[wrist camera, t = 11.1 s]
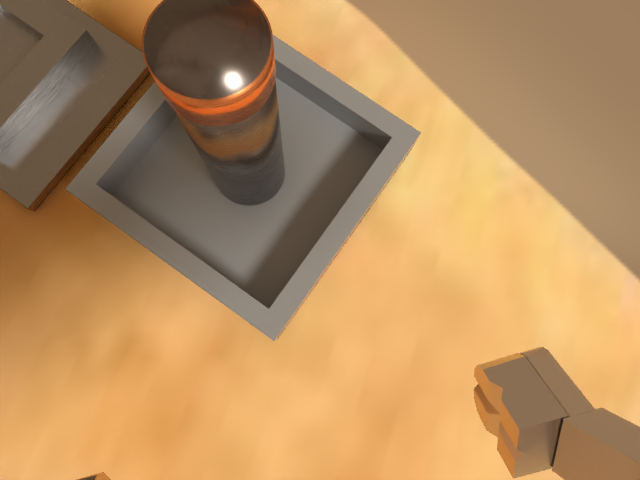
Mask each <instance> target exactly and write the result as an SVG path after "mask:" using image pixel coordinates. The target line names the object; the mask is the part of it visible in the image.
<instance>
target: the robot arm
mask: <svg viewBox="0 0 640 480" xmlns="http://www.w3.org/2000/svg"><path fill="white" fill-rule="evenodd" d="M474 377H475V378H476V380H477V382H478V385H477V386H476V387H475V388H474V399H475V403H476V407H477V411H478V413H479V415H480V418H481V420H482V422H483V424H484V426H485V428H486V430H487V431H489V432H490V433H492V434H493V435H495V436H497V437H498V445H497V450H498V452H499V453H500V455H501V457H502V459H503V461H504V462H505V464H506V466H507V468H508V470H509V472H510V473H511V475H512V477H513V478H517V477H521V476H525V475H528V474H532V473H536V472H539V471H543V470H547V469H551V468H552V471H554V472H555V473H556V474H558V475H559V476H560V477H562V478H563V479H564V480H640V427H639V426H637V425H635V424H633V423H631V422H629V421H627V420H625V419H623V418H621V417H619V416H617V415H615V414H614V413H612V412H610V411H608V410H606V409H604V408H598V409H594V407H593V406H592V405H591V404H590V402H589V401H588V400H587V399H586V397H585V396H584V395H583V393H582V392H581V391H580V390H579V388H578V387H577V386H576V385H575V383H574V382H573V381H572V380H571V378H570V377H569V376H568V375H567V373H566V372H565V371H564V370H563V368H562V367H561V366H560V365H559V363H558V362H557V361H556V360H555V358H554V357H553V356H552V355H551V353H550V352H549V351H548V350H547V349H545V348H543V347H539V348H535V349H532V350H529V351H526V352H522V353H516V354H513V355H510V356H506V357H503V358H500V359H497V360H493V361H490V362H487V363H483V364H480V365H477V366H476V367H475V372H474ZM77 480H111V479H110V478H109V477H108V476H107V475H106V474H105V473H104V472H102V473H98V474H95V475H91V476H88V477H84V478H80V479H77Z"/></svg>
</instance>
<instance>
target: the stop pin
mask: <svg viewBox="0 0 640 480" xmlns="http://www.w3.org/2000/svg"><path fill="white" fill-rule="evenodd" d="M142 53H143V58H144V61H145V63H146V66H147V68H148V70H149V72H150V73H151V75H152V77H153V78H154V80H155V82H156V84H157V85H158V87H159V89H160V90H161V92H162V94H163V96H164V97H165V99H166V101H167V102H168V103H169V105H170V106H171V107H172V108H173V110H174V112H175V113H176V115H177V117H178V118H179V120H180V122H181V124H182V125H183V127H184V129H185V131H186V132H187V134H188V136H189V138H190V139H191V141H192V143H193V145H194V146H195V148H196V150H197V152H198V153H199V155H200V157H201V159H202V160H203V162H204V164H205V166H206V167H207V169H208V171H209V173H210V174H211V176H212V178H213V180H214V181H215V183H216V185H217V186H218V188H219V190H220V191H221V193H222V194H223V195H224V196H225V197H226V198H228V199H229V200H231V201H232V202H234V203H237V204H240V205H246V206H252V205H258V204H262V203H264V202H266V201H268V200H270V199H271V198H273V197H274V196H275V195H276V194H277V192H278V191H279V190H280V188H281V186H282V184H283V182H284V178H285V165H284V155H283V146H282V137H281V127H280V118H279V109H278V99H277V90H276V81H275V78H276V66H275V56H274V46H273V36H272V30H271V26H270V23H269V21H268V18H267V17H266V15H265V13H264V12H263V10H262V9H261V8H260V6H259V5H258V4H257V3H256V2H255V1H254V0H163V1H162V2H161V3H160V4H159V5H158V6H157V7H156V8H155V9H154V11H153V12H152V13H151V15H150V16H149V18H148V20H147V22H146V25H145V27H144V31H143V35H142Z"/></svg>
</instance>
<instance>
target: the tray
mask: <svg viewBox="0 0 640 480" xmlns="http://www.w3.org/2000/svg"><path fill="white" fill-rule="evenodd" d="M272 36H273V46H274V56H275V66H276V78H275V81H276V90H277V99H278V109H279V118H280V127H281V137H282V146H283V155H284V165H285V178H284V182H283V184H282V186H281V188H280V190H279V191H278V192H277V194H276V195H275V196H274V197H273V198H271V199H270V200H268V201H266V202H264V203H262V204H258V205H252V206H246V205H240V204H237V203H234V202H232V201H231V200H229V199H228V198H226V197H225V196H224V195H223V194H222V193H221V191H220V190H219V188H218V186H217V185H216V183H215V181H214V180H213V178H212V176H211V174H210V173H209V171H208V169H207V167H206V166H205V164H204V162H203V160H202V159H201V157H200V155H199V153H198V152H197V150H196V148H195V146H194V145H193V143H192V141H191V139H190V138H189V136H188V134H187V132H186V131H185V129H184V127H183V125H182V124H181V122H180V120H179V118H178V117H177V115H176V113H175V112H174V110H173V108H172V107H171V106H170V105H169V103H168V102H167V101H166V99H165V97H164V96H163V94H162V92H161V90H160V89H159V87H158V85H157V84H156V82H154V83H153V84H152V85H151V86H150V88H149V89H148V90H147V91H146V92H145V94H144V95H143V96H142V97H141V98H140V100H139V101H138V102H137V103H136V104H135V106H134V107H133V108H132V109H131V110H130V112H129V113H128V114H127V115H126V116H125V118H124V119H123V120H122V121H121V122H120V124H119V125H118V126H117V127H116V128H115V130H114V131H113V132H112V133H111V134H110V136H109V137H108V138H107V139H106V140H105V142H104V143H103V144H102V145H101V146H100V148H99V149H98V150H97V151H96V152H95V154H94V155H93V156H92V157H91V158H90V160H89V161H88V162H87V163H86V164H85V166H84V167H83V168H82V169H81V170H80V172H79V173H78V174H77V175H76V176H75V178H74V179H73V180H72V181H71V182H70V184H69V185H68V186H67V187H66V188H65V189H66V190H67V191H69V192H70V193H71V194H73V195H74V196H75V197H77V198H78V199H80V200H81V201H82V202H84V203H85V204H86V205H88V206H89V207H91V208H92V209H93V210H95V211H96V212H97V213H99V214H100V215H102V216H103V217H104V218H106V219H107V220H108V221H110V222H111V223H113V224H114V225H115V226H117V227H118V228H119V229H121V230H122V231H124V232H125V233H126V234H128V235H129V236H130V237H132V238H133V239H135V240H136V241H137V242H139V243H140V244H141V245H143V246H144V247H146V248H147V249H148V250H150V251H151V252H152V253H154V254H155V255H157V256H158V257H159V258H161V259H162V260H163V261H165V262H166V263H168V264H169V265H170V266H172V267H173V268H174V269H176V270H177V271H179V272H180V273H181V274H183V275H184V276H185V277H187V278H188V279H190V280H191V281H192V282H194V283H195V284H196V285H198V286H199V287H201V288H202V289H203V290H205V291H206V292H207V293H209V294H210V295H212V296H213V297H214V298H216V299H217V300H218V301H220V302H221V303H223V304H224V305H225V306H227V307H228V308H229V309H231V310H232V311H234V312H235V313H236V314H238V315H239V316H240V317H242V318H243V319H245V320H246V321H247V322H249V323H250V324H251V325H253V326H254V327H256V328H257V329H258V330H260V331H261V332H262V333H264V334H265V335H267V336H268V337H269V338H271V339H272V340H273V341H274V340H276V339H278V338H279V336H280V335H281V333H282V332H283V331H284V329H285V328H286V326H287V325H288V323H289V322H290V321H291V319H292V318H293V316H294V315H295V314H296V312H297V311H298V309H299V308H300V306H301V305H302V304H303V302H304V301H305V299H306V298H307V297H308V295H309V294H310V292H311V291H312V289H313V288H314V287H315V285H316V284H317V282H318V281H319V280H320V278H321V277H322V275H323V274H324V272H325V271H326V270H327V268H328V267H329V265H330V264H331V263H332V261H333V260H334V258H335V257H336V255H337V254H338V253H339V251H340V250H341V248H342V247H343V246H344V244H345V243H346V241H347V240H348V238H349V237H350V236H351V234H352V233H353V231H354V230H355V229H356V227H357V226H358V224H359V223H360V222H361V220H362V219H363V217H364V216H365V214H366V213H367V212H368V210H369V209H370V207H371V206H372V205H373V203H374V202H375V200H376V199H377V197H378V196H379V195H380V193H381V192H382V190H383V189H384V188H385V186H386V185H387V183H388V182H389V180H390V179H391V178H392V176H393V175H394V173H395V172H396V171H397V169H398V168H399V166H400V165H401V163H402V162H403V161H404V159H405V158H406V156H407V155H408V154H409V152H410V151H411V149H412V147H413V145H414V144H415V142H416V140H417V139H418V137H419V135H420V133H421V132H419V131H418V130H416V129H415V128H413V127H412V126H410V125H409V124H407V123H405V122H404V121H402V120H401V119H399V118H398V117H396V116H395V115H393V114H392V113H390V112H389V111H387V110H386V109H384V108H383V107H381V106H380V105H378V104H377V103H375V102H374V101H372V100H371V99H369V98H368V97H366V96H365V95H363V94H362V93H360V92H359V91H357V90H356V89H354V88H353V87H351V86H350V85H348V84H347V83H345V82H343V81H342V80H340V79H339V78H337V77H336V76H334V75H333V74H331V73H330V72H328V71H327V70H325V69H324V68H322V67H321V66H319V65H318V64H316V63H315V62H313V61H312V60H310V59H309V58H307V57H306V56H304V55H303V54H301V53H300V52H298V51H297V50H295V49H294V48H292V47H291V46H289V45H288V44H286V43H285V42H283V41H281V40H280V39H278V38H277V37H275V36H274V35H272Z"/></svg>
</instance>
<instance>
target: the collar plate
mask: <svg viewBox="0 0 640 480" xmlns="http://www.w3.org/2000/svg"><path fill="white" fill-rule="evenodd" d="M149 74H150V72H149V70H148V68H147V66H146V63H145V61H144V58H143V53H142V52H141V51H140V50H138V49H137V48H135V47H134V46H132V45H131V44H129V43H128V42H126V41H125V40H124V39H122V38H121V37H119V36H118V35H116V34H115V33H113V32H112V31H110V30H109V29H107V28H106V27H105V26H103V25H102V24H100V23H99V22H97V21H96V20H94V19H93V18H91V17H90V16H88V15H87V14H86V13H84V12H83V11H81V10H80V9H78V8H77V7H75V6H74V5H72V4H71V3H69V2H68V1H67V0H0V189H2V190H3V191H5V192H6V193H7V194H9V195H10V196H11V197H13V198H14V199H15V200H17V201H18V202H19V203H21V204H22V205H24V206H25V207H26V208H28V209H30V210H33V211H35V210H36V209H37V207H38V206H39V205H40V204H41V203H42V201H43V200H44V199H45V198H46V197H47V195H48V194H49V193H50V192H51V191H52V190H53V188H54V187H55V186H56V185H57V184H58V182H59V181H60V180H61V179H62V178H63V176H64V175H65V174H66V173H67V172H68V170H69V169H70V168H71V167H72V166H73V164H74V163H75V162H76V161H77V160H78V158H79V157H80V156H81V155H82V154H83V152H84V151H85V150H86V149H87V148H88V147H89V145H90V144H91V143H92V142H93V141H94V139H95V138H96V137H97V136H98V135H99V133H100V132H101V131H102V130H103V129H104V127H105V126H106V125H107V124H108V123H109V121H110V120H111V119H112V118H113V117H114V115H115V114H116V113H117V112H118V111H119V110H120V108H121V107H122V106H123V105H124V104H125V102H126V101H127V100H128V99H129V98H130V96H131V95H132V94H133V93H134V92H135V90H136V89H137V88H138V87H139V86H140V84H141V83H142V82H143V81H144V80H145V78H146V77H147V76H148V75H149Z"/></svg>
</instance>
